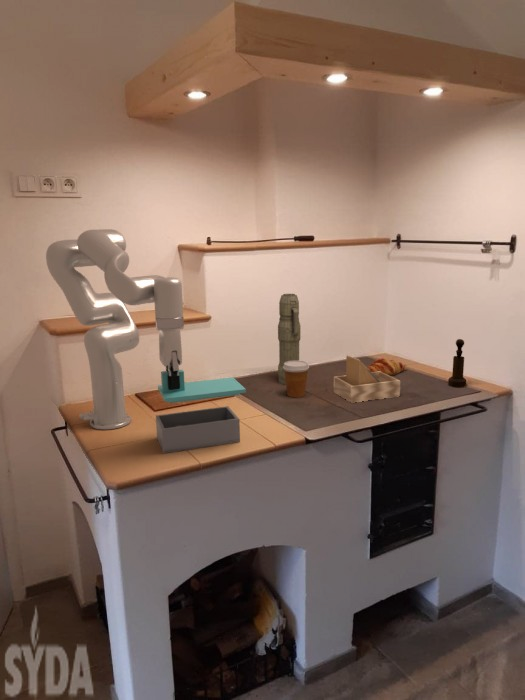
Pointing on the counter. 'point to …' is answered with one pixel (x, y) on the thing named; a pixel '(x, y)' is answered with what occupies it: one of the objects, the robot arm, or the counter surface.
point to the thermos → (288, 332)
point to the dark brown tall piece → (458, 367)
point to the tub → (197, 429)
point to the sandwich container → (358, 373)
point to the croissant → (387, 366)
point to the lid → (199, 389)
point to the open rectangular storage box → (368, 388)
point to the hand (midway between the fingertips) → (173, 387)
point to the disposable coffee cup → (296, 377)
